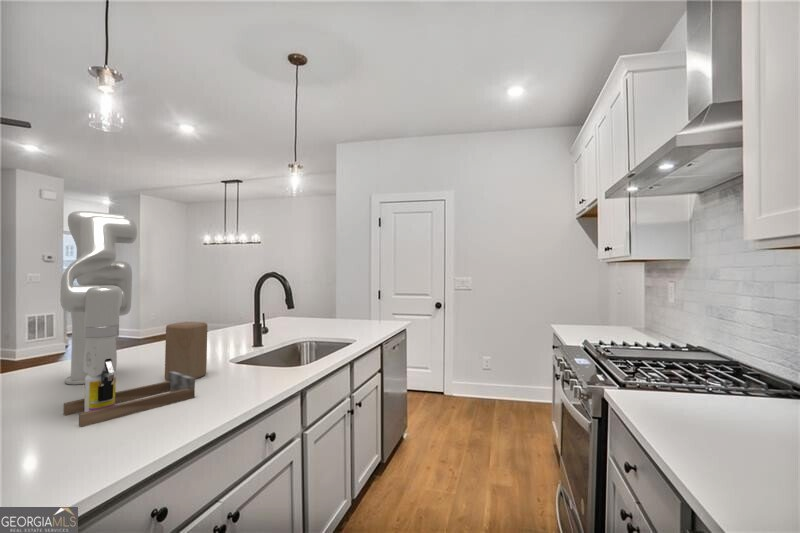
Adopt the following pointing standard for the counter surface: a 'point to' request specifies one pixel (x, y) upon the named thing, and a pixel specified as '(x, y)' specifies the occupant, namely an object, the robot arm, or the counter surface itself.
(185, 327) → the block
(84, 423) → the shelf lane
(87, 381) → the supplement bottle
